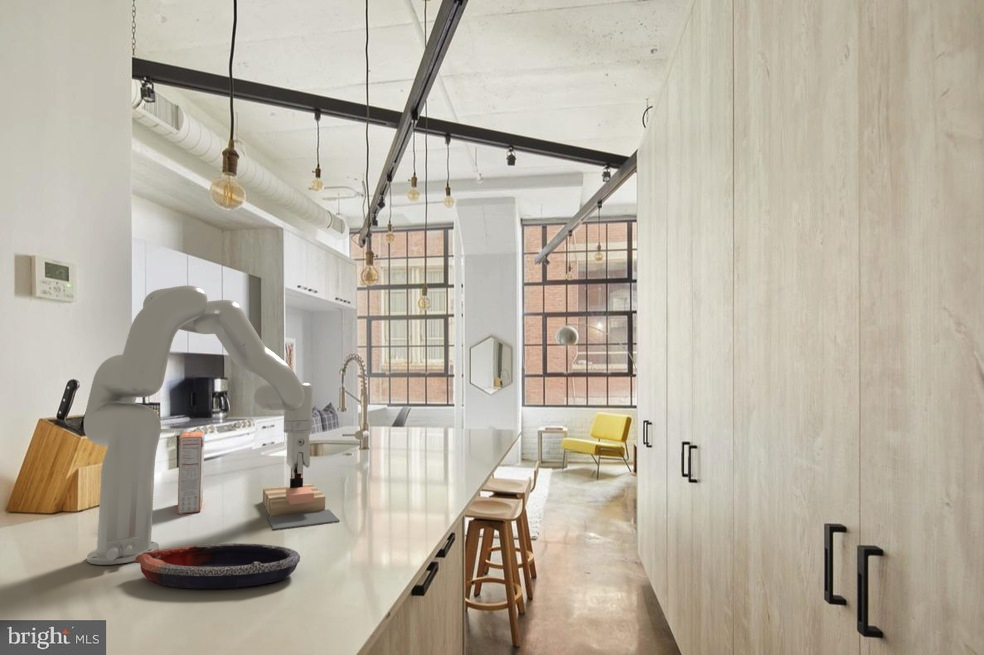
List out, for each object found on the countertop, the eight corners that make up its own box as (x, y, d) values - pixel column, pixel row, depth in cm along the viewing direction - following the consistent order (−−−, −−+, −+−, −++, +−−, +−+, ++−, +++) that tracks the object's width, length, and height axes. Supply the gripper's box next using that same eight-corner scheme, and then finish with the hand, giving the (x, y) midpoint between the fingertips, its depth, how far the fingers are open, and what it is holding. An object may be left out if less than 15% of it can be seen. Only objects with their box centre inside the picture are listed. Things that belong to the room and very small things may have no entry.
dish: (277, 598, 95) (278, 568, 95) (110, 592, 98) (111, 562, 98) (314, 566, 110) (314, 540, 111) (168, 562, 113) (169, 536, 113)
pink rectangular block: (313, 502, 147) (314, 492, 147) (290, 504, 144) (290, 495, 144) (308, 495, 155) (308, 486, 155) (285, 497, 152) (286, 488, 152)
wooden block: (325, 511, 153) (325, 496, 154) (271, 517, 147) (271, 502, 147) (311, 496, 171) (311, 483, 171) (262, 501, 164) (263, 488, 164)
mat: (339, 521, 142) (339, 520, 142) (273, 530, 135) (273, 528, 135) (328, 510, 154) (328, 509, 154) (267, 517, 146) (267, 516, 146)
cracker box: (179, 503, 162) (183, 431, 164) (203, 501, 164) (206, 430, 166) (175, 515, 149) (178, 436, 151) (200, 512, 152) (203, 435, 153)
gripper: (316, 428, 152) (315, 496, 150) (306, 423, 165) (305, 486, 163) (288, 429, 148) (286, 499, 147) (279, 424, 161) (278, 488, 160)
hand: (296, 492), depth 155 cm, fingers closed
